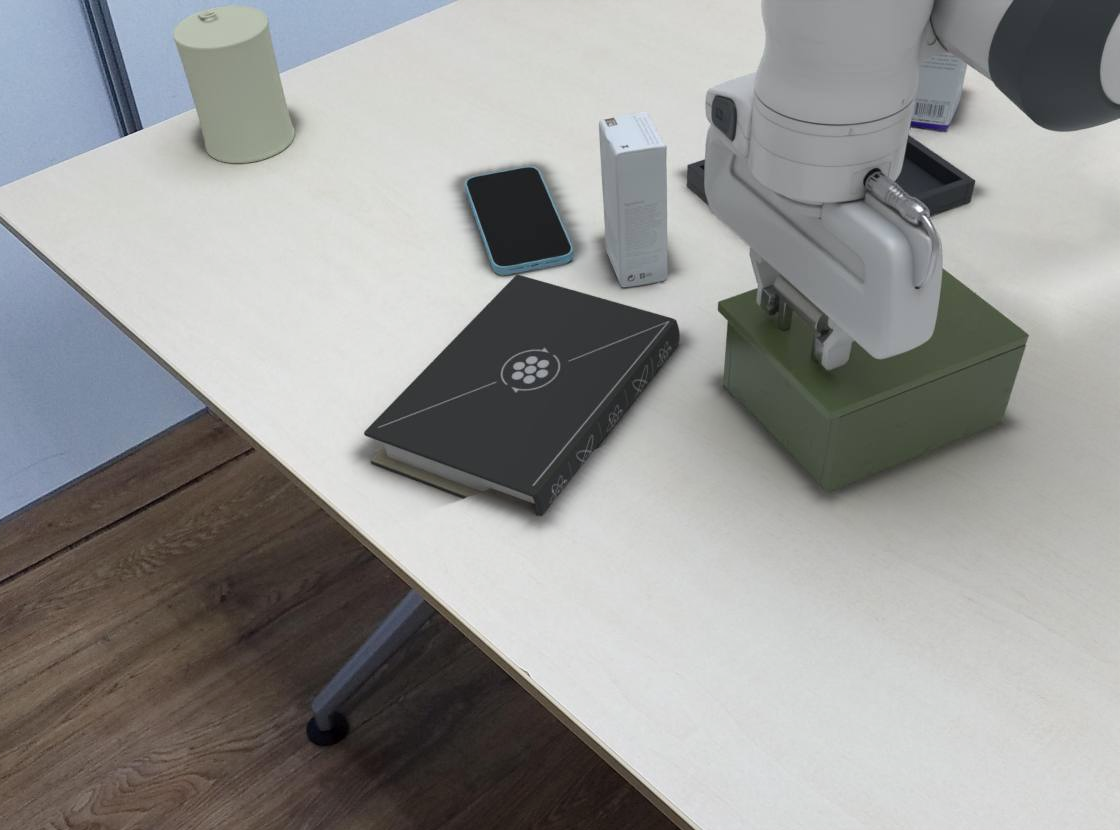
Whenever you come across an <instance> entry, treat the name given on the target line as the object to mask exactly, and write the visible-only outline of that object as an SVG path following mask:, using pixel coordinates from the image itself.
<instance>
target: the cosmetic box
mask: <svg viewBox="0 0 1120 830" xmlns="http://www.w3.org/2000/svg"><path fill="white" fill-rule="evenodd" d="M598 132H599V133H598V135H599V137H598V138H599V139H598V140H599V153H600V155H599V157H600V171H601V173H600V174H601V188H602V190H601V191H602V203H603V204H602V205H603V217H604V218H603V222H604V238H605V251H606V254H607V256H608V259H609V261H610V263H611V266H612V269H613V271H614V273H615V275H616V278H617V280H618V282H619V285H620V287H622V288H630V287H637V286H638V287H639V286H644V285H650V284H655V283H661V282H665V281H667V279H668V275H669V269H668V267H669V266H668V265H669V264H668V261H669V259H668V257H669V256H668V252H669V251H668V180H667V179H668V173H667V172H668V170H667V152H668V150H667V149H668V147H667V144H666V143H665V141H664V139H663V137H662V135H661V134H660V133H659V131H658V129H657V127H656V125H655V123H654V122H653V121H652V119H651V117H650V115H649V113H648V112H647V111H643V112H636V113H630V114H626V115H621V116H615V117H611V118H604V119H601V120H599V121H598Z"/></svg>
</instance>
